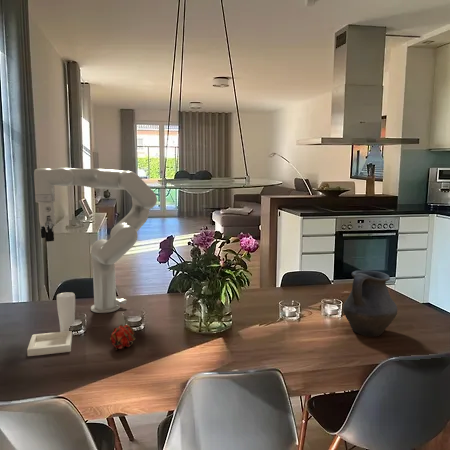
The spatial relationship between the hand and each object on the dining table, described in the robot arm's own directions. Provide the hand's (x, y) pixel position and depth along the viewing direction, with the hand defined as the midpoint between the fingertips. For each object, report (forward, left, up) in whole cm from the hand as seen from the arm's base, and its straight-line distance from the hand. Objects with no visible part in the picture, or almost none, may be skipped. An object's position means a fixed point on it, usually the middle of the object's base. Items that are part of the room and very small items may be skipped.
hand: (47, 239), depth 190 cm
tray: (-2, +32, -34) cm, 47 cm away
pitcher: (-120, +52, -34) cm, 135 cm away
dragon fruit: (-27, +40, -34) cm, 59 cm away
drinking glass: (-7, +19, -34) cm, 40 cm away
